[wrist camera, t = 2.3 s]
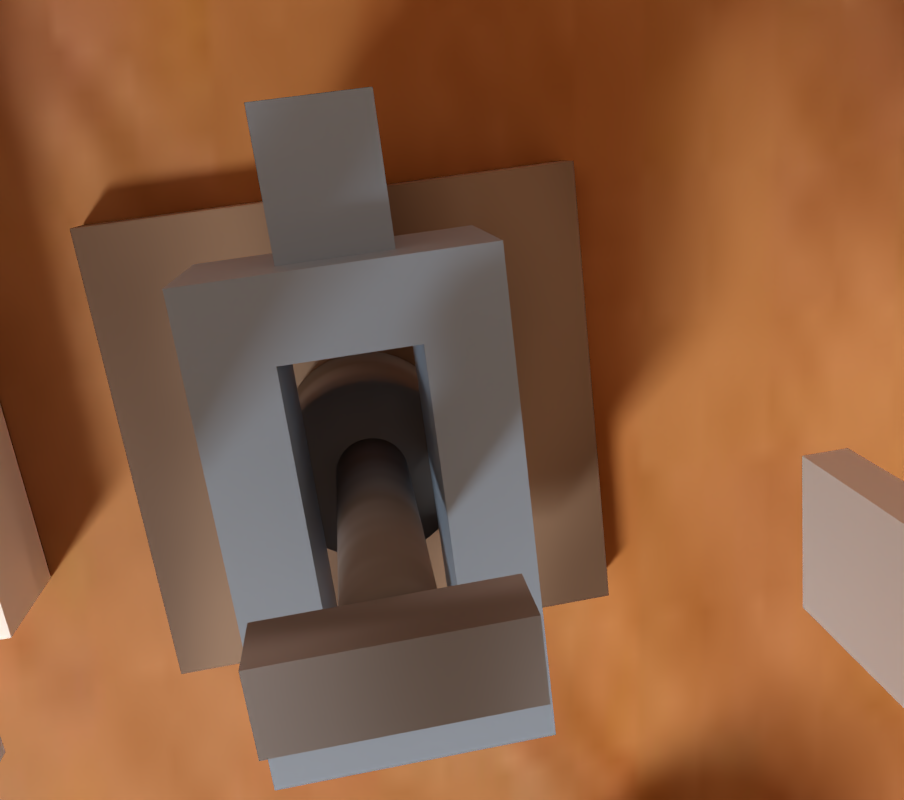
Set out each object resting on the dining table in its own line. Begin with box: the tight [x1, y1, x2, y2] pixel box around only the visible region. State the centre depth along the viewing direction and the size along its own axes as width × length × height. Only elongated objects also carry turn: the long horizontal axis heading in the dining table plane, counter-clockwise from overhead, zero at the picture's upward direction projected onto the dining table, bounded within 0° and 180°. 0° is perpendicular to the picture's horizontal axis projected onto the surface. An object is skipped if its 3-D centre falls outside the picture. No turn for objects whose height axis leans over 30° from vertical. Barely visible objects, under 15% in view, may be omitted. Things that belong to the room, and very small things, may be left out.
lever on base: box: [70, 161, 609, 761], centre depth 17 cm, size 12×12×12 cm
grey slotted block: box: [162, 87, 556, 790], centre depth 17 cm, size 13×6×3 cm, turn 7°
